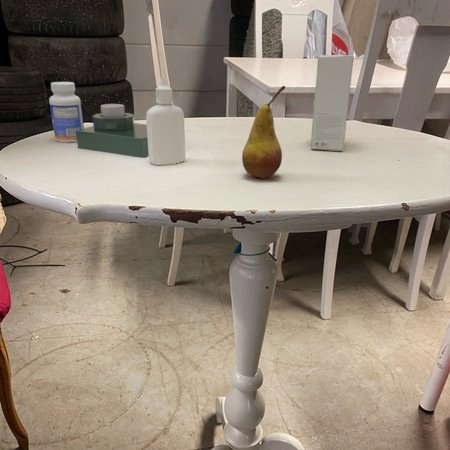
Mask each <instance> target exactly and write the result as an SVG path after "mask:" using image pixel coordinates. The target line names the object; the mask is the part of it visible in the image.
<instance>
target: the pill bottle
mask: <svg viewBox="0 0 450 450" xmlns="http://www.w3.org/2000/svg"><path fill="white" fill-rule="evenodd" d="M50 90H51V92H52V93H53V95H51V96H50V97H49V98H48V104H49V109H50V115H51V122H52V129H53V134H54V139H55V141H57V142H59V143H67V144H69V143H71V144H72V143H77V137H76V130H79V129H83V128H85V126H84V119H83V118H84V117H83V110H82V102H81V98H80V97H79V96H78V95H76V94H75V92H76V85H75V83H74V82H72V81H53V82H50Z"/></svg>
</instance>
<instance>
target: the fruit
mask: <svg viewBox="0 0 450 450" xmlns="http://www.w3.org/2000/svg"><path fill="white" fill-rule="evenodd" d="M285 89H286V86H285V85H282V86H281V87H280V88H279V89H278V91H277V92H276V93H275V94H274V96H273V97H272V98H271V99H270V100H269V102H268V103H264V104H263V105H261V106H260V107H259V109H258V110H257V112H256V115H255V117H254V120H253V123H252V126H251V129H250V132H249V134H248V135H249V136H248V138H247V141H246V143H245V145H244V147H243V150H242V154H241V160H242V161H241V162H242V166H243V169H244V170H245V172H246V173H247V174H248V175H250V176H251V177H254V178H260V179H268V178H270V177H272V176H273V175H275V173H277V172H278V170H279V168H280V167H281V164H282V160H283V151H282V148H281V144H280V142H279V140H278V137H277V134H276V131H275V123H274V115H273V111H272V108H271V104H272V103H273V102H274V100H275V99H276V98H277V97H278V95H280V94H281V92H283V91H284V90H285Z"/></svg>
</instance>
